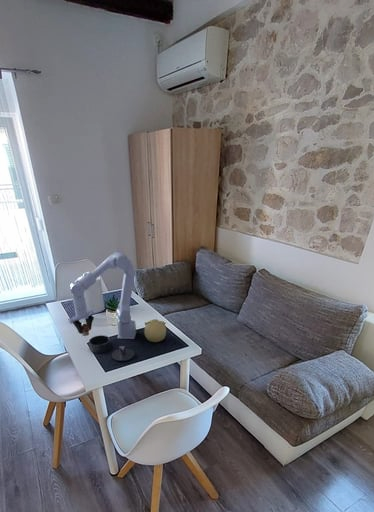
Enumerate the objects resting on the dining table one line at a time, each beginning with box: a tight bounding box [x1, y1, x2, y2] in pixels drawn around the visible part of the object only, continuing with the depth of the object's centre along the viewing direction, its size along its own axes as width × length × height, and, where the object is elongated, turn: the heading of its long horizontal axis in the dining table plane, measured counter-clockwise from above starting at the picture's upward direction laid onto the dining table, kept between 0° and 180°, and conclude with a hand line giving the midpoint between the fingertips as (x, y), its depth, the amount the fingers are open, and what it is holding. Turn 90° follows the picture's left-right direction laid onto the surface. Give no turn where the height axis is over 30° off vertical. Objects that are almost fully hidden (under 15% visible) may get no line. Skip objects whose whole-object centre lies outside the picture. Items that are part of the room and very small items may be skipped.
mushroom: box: [81, 323, 91, 337], centre depth 160 cm, size 5×5×6 cm
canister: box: [76, 275, 106, 314], centre depth 194 cm, size 14×14×20 cm
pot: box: [88, 334, 112, 354], centre depth 158 cm, size 10×10×5 cm
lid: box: [111, 345, 135, 362], centre depth 151 cm, size 11×11×5 cm
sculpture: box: [144, 318, 167, 343], centre depth 165 cm, size 12×12×11 cm
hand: (85, 331), depth 160 cm, fingers closed on mushroom, 5 cm apart
